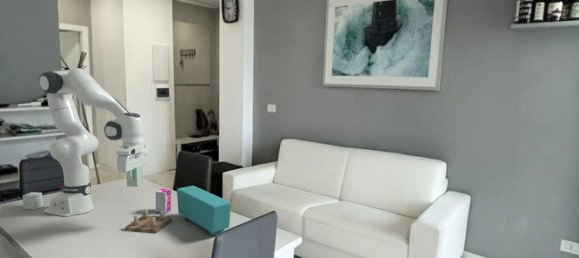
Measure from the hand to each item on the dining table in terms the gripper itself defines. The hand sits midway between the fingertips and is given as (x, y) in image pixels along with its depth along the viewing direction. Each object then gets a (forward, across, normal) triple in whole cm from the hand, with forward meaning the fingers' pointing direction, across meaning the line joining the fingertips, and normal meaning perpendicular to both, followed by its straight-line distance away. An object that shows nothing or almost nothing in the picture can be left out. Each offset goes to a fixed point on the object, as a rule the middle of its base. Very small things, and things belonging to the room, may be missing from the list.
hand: (134, 177), depth 163 cm
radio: (+24, -6, +30) cm, 39 cm away
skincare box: (+22, -10, -64) cm, 69 cm away
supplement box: (+23, -19, +4) cm, 30 cm away
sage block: (+4, 0, 0) cm, 4 cm away
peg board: (+23, -1, +6) cm, 24 cm away
